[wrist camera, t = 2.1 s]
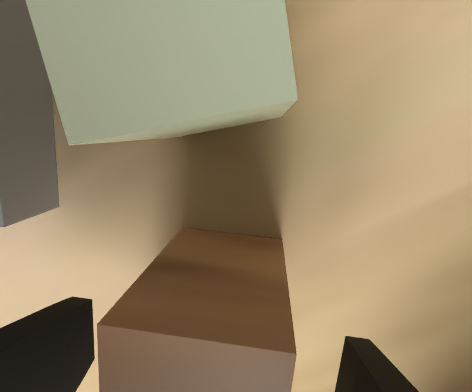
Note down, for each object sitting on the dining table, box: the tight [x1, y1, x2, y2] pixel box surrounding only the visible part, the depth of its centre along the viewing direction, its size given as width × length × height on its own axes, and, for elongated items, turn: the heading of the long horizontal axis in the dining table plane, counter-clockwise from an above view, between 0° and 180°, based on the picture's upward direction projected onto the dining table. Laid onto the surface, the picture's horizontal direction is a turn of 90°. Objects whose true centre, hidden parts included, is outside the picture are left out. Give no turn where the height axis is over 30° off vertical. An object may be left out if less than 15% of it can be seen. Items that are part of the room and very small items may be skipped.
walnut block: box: [97, 228, 296, 392], centre depth 9 cm, size 4×4×6 cm
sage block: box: [26, 0, 298, 145], centre depth 7 cm, size 4×4×6 cm
